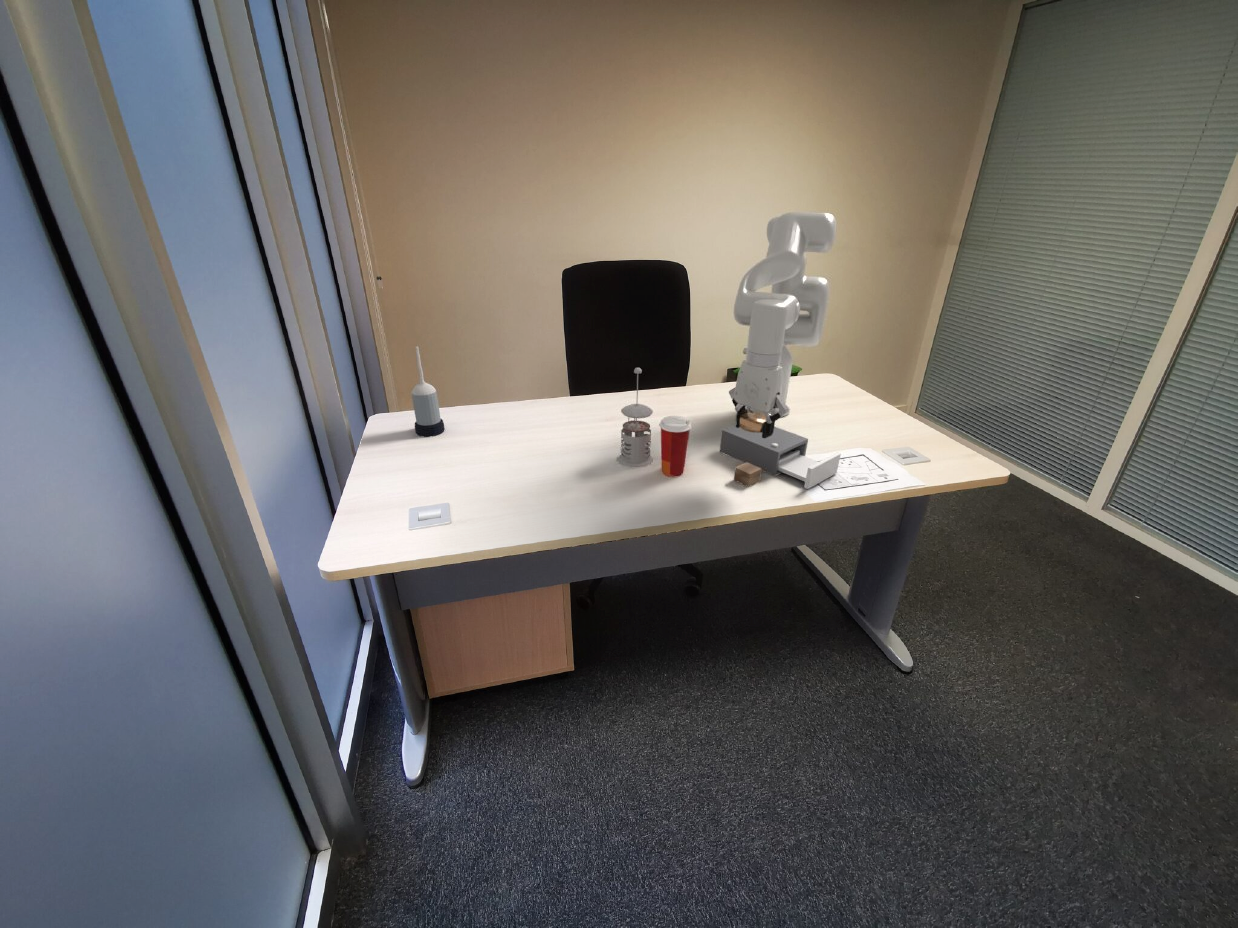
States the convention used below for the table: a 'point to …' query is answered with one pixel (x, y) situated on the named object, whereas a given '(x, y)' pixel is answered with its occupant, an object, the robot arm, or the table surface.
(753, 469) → the brown wooden cube
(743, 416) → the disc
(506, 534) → the table surface
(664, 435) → the paper cup
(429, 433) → the grey bottle with nozzle
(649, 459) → the french press
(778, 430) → the player
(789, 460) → the tray
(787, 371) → the robot arm
